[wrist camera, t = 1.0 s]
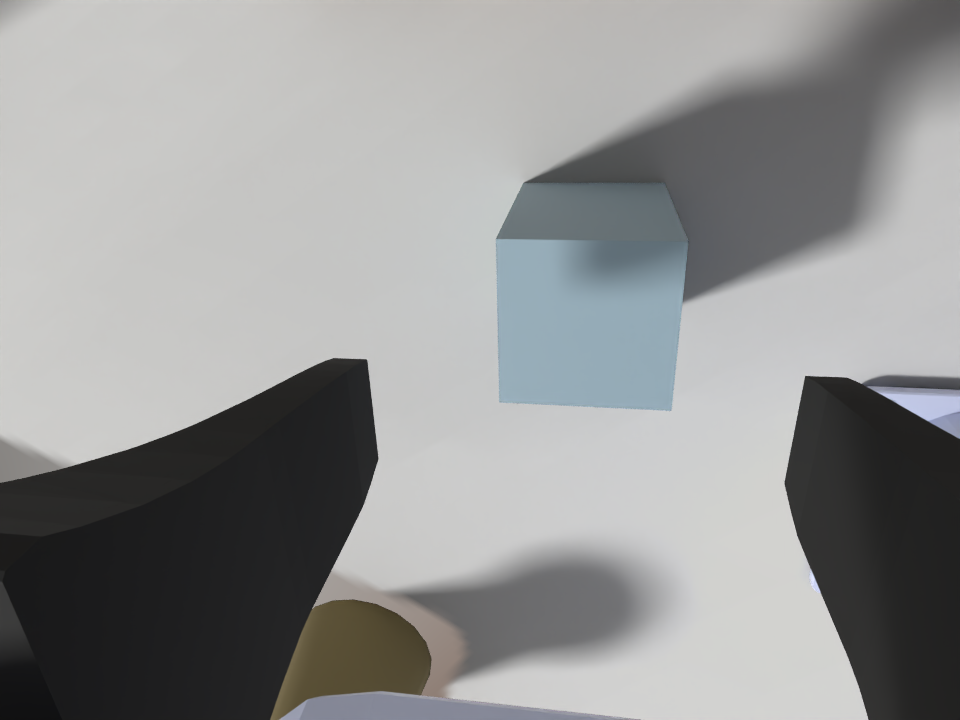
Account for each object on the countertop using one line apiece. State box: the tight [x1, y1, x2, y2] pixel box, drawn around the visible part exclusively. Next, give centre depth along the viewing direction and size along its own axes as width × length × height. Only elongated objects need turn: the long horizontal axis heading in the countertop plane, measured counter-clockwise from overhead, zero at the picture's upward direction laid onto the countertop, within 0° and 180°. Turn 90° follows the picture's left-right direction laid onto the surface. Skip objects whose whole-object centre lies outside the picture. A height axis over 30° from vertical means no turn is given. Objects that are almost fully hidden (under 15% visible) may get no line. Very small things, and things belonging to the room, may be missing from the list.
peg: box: [496, 183, 689, 411], centre depth 18 cm, size 4×4×6 cm
